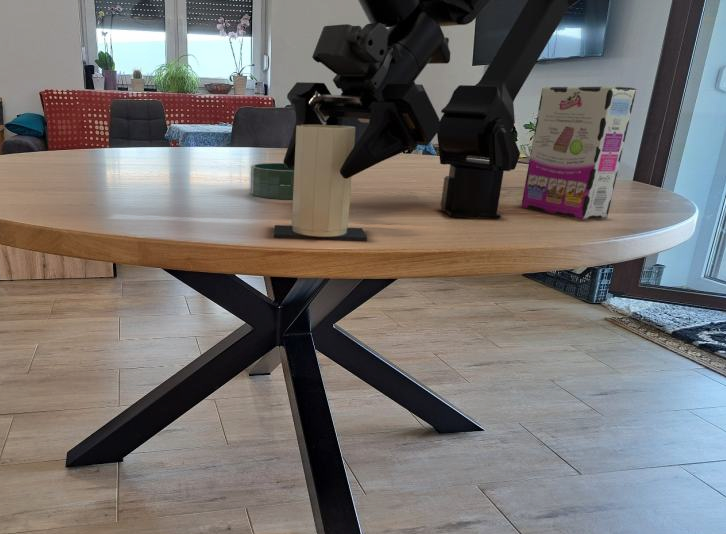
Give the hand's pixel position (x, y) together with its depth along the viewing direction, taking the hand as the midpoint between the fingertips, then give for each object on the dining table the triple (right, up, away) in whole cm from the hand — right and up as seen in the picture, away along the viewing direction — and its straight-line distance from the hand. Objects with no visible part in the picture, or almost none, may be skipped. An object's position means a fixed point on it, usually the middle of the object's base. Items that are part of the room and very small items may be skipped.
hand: (312, 170), depth 67 cm
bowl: (-2, +3, +27) cm, 27 cm away
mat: (+1, -6, +3) cm, 7 cm away
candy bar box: (+36, 0, +22) cm, 43 cm away
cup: (+1, -6, +3) cm, 7 cm away
